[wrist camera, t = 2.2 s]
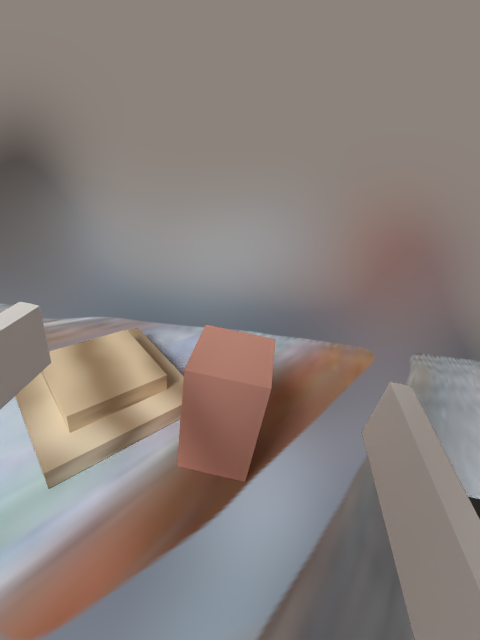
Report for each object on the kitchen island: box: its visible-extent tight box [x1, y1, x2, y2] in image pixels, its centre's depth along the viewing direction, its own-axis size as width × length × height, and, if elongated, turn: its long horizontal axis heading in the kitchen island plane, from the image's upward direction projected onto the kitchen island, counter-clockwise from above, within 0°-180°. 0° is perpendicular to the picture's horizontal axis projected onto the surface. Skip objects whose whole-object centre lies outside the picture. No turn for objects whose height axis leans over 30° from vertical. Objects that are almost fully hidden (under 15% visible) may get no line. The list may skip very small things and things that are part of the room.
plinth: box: [15, 328, 184, 488], centre depth 30 cm, size 14×14×4 cm
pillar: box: [177, 325, 275, 482], centre depth 26 cm, size 6×6×11 cm
